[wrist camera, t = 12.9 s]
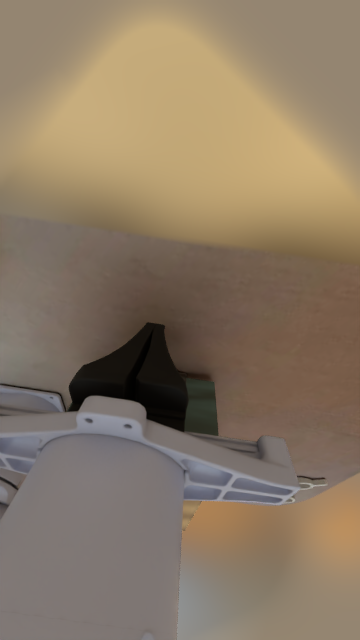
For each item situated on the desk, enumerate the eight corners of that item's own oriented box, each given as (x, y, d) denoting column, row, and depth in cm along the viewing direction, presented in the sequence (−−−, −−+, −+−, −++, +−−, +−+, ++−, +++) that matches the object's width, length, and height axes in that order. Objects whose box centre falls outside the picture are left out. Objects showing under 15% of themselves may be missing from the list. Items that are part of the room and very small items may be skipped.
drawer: (90, 332, 19) (49, 386, 14) (224, 353, 19) (233, 414, 14) (103, 429, 29) (83, 483, 24) (193, 443, 29) (191, 499, 24)
